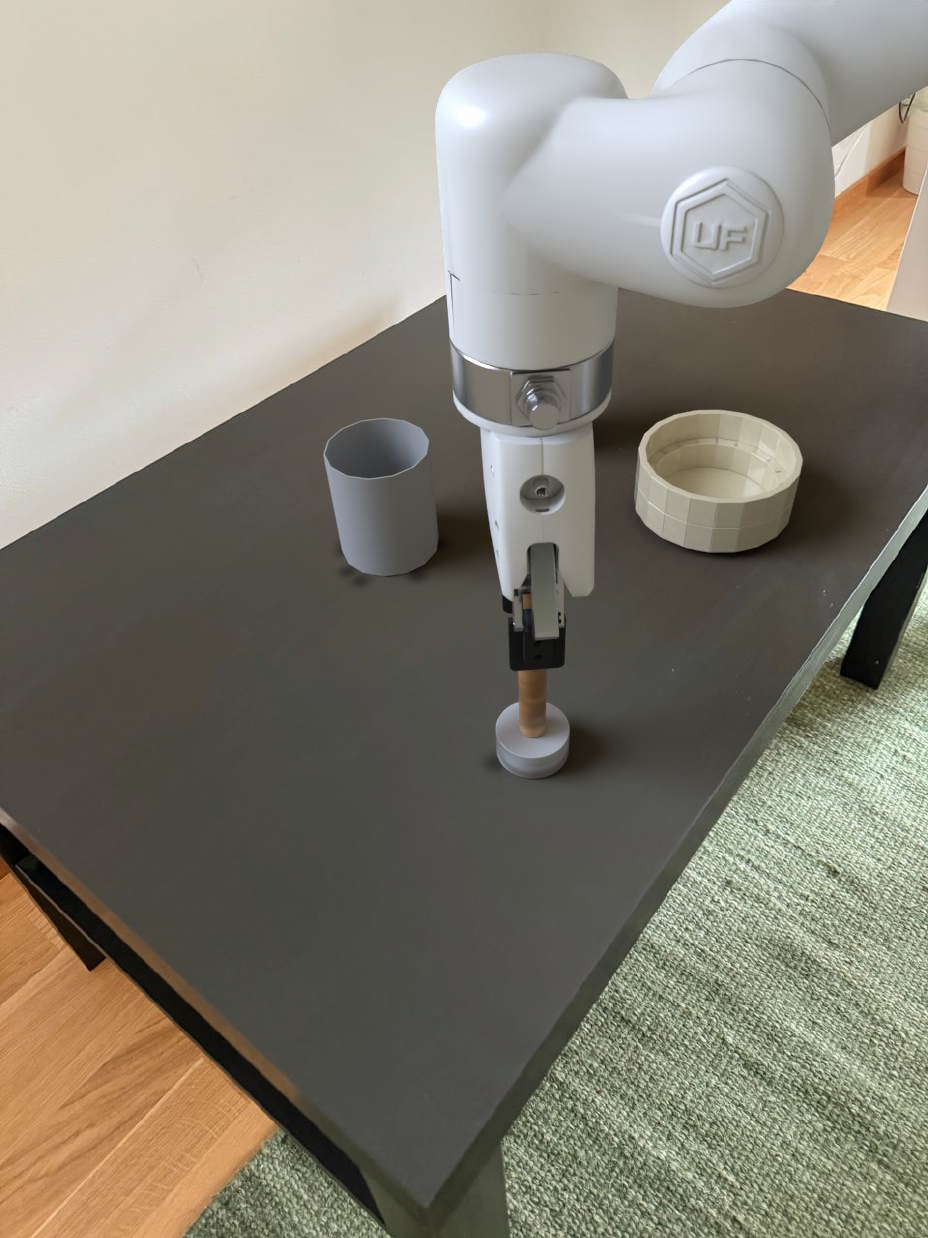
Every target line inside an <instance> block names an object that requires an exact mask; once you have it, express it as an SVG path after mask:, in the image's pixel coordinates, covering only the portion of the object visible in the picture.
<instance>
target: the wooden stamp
mask: <svg viewBox="0 0 928 1238" xmlns="http://www.w3.org/2000/svg"><path fill="white" fill-rule="evenodd" d="M527 574H530V573H527ZM531 608H532V605H531V594H523V609H531ZM547 676H548V669H538V670H525V671H517V683H518V684H517V685H518V687H517V688H518V689H517V690H518V701H517V702H514V703H512V704H510V705H508V706H507V707H506V708H504V710H503V711H502V712H501V713H500V715H499V716H498V717H497V720H496V723H495V746H496V748H495V749H496V756H497V758H498V761H499V762H500V764H501V765H502V767H503V768H504V769H505V770H506V771H508V772H509V773H511V774H512V775H514V776H517V777H519V778H523V779H528V780H536V779H537V780H538V779H544V778H547V777H550V776H552V775H554V774H555V773H557V772H558V771H559V770H561V769H562V768H563V766H564V765H565V764H566V762H567V760H568V757H569V754H570V733H571V726H570V723H569V720H568V718H567V716H566V714H565V713H564V712H563V711H562V710H561V709H560V708H559V707H557V706H556V705H554V704H552V703H550V702H547V680H548V677H547Z"/></svg>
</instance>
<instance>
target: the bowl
mask: <svg viewBox="0 0 928 1238" xmlns="http://www.w3.org/2000/svg"><path fill="white" fill-rule="evenodd" d="M803 464H804V458H803V456H802V453H801V450H800V446H799V444H798V443H797V442H795V440H794V439H793V438H792V437H791V436H790V435H789V434H788V433H787V431H785V430H784V429H782V428H780V427H779V426H777V425H775V424H773V422H772V423H771V422H770V421H768V420H766V419H763V418H760V417H757V416H755V415H751V414H748V413H745V412H738V411H733V410H725V409H697V410H696V409H695V410H689V411H686V412H685V411H684V412H681V413H676V414H673V415H671V416H669V417H667V418H664V419H662V420H659V421H657V422H656V423H655V424H654V425H652V427H650V428H649V429H648V430H647V431H646V432H645V433H644V434H643V436H642V439H641V441H640V443H639V446H638V448H637V459H636V468H635V469H636V471H635V480H634V481H635V482H634V492H633V499H634V508H635V512H636V513H637V515H638V516H639V518H640V520H641V521H642V523H643V524H644V526H646V527H647V528H648V529H650V530H651V531H652V532H653V533H654V534H656V535H657V536H659V537H660V538H661V539H663V540H665V541H667V542H670V543H673V544H675V545H677V546H680V547H682V548H685V549H690V550H694V551H698V552H705V553H738V552H742V551H747V550H751V549H755V548H758V547H761V546H762V545H765V544H766V543H768V542H770V541H772V540H774V539H776V538H777V537H778V536H779V535H780V533H781V532H782V531H783V530H784V529H785V528H786V527H787V526H788V524H789V521H790V517H791V513H792V509H793V505H794V502H795V497H796V493H797V490H798V484H799V482H800V481H799V480H800V477H801V473H802V468H803Z"/></svg>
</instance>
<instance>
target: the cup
mask: <svg viewBox="0 0 928 1238" xmlns="http://www.w3.org/2000/svg"><path fill="white" fill-rule="evenodd" d="M322 456H323V460H324V465H325V470H326V475H327V480H328V485H329V491H330V497H331V501H332V506H333V507H332V508H333V511H334V517H335V521H336V526H337V531H338V532H337V533H338V537H339V541H340V547H341V551H342V553H343V555H344V558H345V560H346V562H347V564H348V565H349V566H352V567H353V568H355V569H356V570H357V571H359V572H361V573H363V574H367V575H373V576H378V577H389V576H390V577H391V576H397V575H404V574H408V573H410V572H412V571H414V570H416V569H418V568H420V567H422V566H425V565H426V564H427V562H429V560H430V559H431V558H432V557H433V556H434V555H435V553H436V552H437V550H438V543H439V528H438V517H437V516H438V515H437V508H436V497H435V486H434V485H435V484H434V476H433V466H432V464H433V463H432V455H431V444H430V439H429V438H428V436H427V435H426V433H425V432H424V430H423V428H421V427H419V426H417V425H415V424H413V423H411V422H409V421H408V420H404V419H398V418H397V419H396V418H388V417H379V418H378V417H377V418H371V419H364V420H359V421H357V422H354V423H352V424H349V425H347V426H345V427H342V428H340V429H339V430H338V431H337V432H335V434H333V435H332V436H331V437H330V438H329V439H328V440H327V441H326V444H325V448H324V451H323V454H322Z"/></svg>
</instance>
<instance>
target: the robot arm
mask: <svg viewBox="0 0 928 1238" xmlns="http://www.w3.org/2000/svg"><path fill="white" fill-rule="evenodd" d="M926 87H928V0H730V1H729V2H728V3H726V4H725V5H724V6H723V7H722V8H720V9H718V11H717V12H715V13H714V14H713V15H712V16H711V17H710V18H709V19H708V20H706V21H705V22H704V23H703V24H702V25H701V26H700V27H699V28H697V29H696V30H695V31H694V32H693V33H691V35H690V36H689V37H688V38H687V39H686V40H685V41H684V42H683V43H682V44H681V45H680V46H679V47H678V48H677V49H676V51H675V52H674V53H673V54H672V56H671V57H670V59H669V60H668V61H667V63H666V64H665V65H664V67H663V68H662V70H661V71H660V73H659V75H658V77H657V79H656V81H655V83H654V85H653V87H652V89H651V91H650V93H649V96H647V97H643V98H629V96H628V94H627V92H626V90H625V86H624V84H623V83H622V81H621V79H620V78H619V77H618V76H617V74H616V73H615V72H614V71H613V70H611V69H610V68H609V67H608V66H606V65H605V64H603V63H601V62H599V61H596V60H594V59H590V58H587V57H583V56H578V55H575V54H568V53H562V52H561V53H560V52H524V53H523V52H522V53H513V54H507V55H501V56H496V57H491V58H488V59H484V60H482V61H479V62H476V63H474V64H472V65H469V66H467V67H464V68H462V69H461V70H459V71H458V72H457V73H455V74H454V75H453V76H452V77H451V78H450V79H449V80H448V81H447V82H446V84H445V85H444V86H443V88H442V90H441V92H440V94H439V97H438V100H437V103H436V108H435V115H434V138H435V139H434V142H435V143H434V144H435V157H436V168H437V169H436V170H437V183H438V185H437V186H438V197H439V212H440V213H439V214H440V225H441V228H440V229H441V240H442V254H443V269H444V281H445V292H446V304H447V305H446V306H447V318H448V333H449V334H448V336H449V337H448V339H449V351H450V352H449V353H450V364H451V365H450V366H451V378H452V379H451V380H452V381H451V382H452V397H453V403H454V405H455V407H456V409H457V411H458V412H459V413H460V415H462V417H463V418H464V419H466V420H467V421H468V422H470V423H471V424H473V425H475V426H477V427H479V428H480V429H479V430H480V431H479V432H480V444H481V447H480V448H481V459H482V471H483V473H482V474H483V483H484V493H485V501H486V510H487V515H488V522H489V530H490V536H491V540H492V546H493V552H494V558H495V564H496V568H497V573H498V579H499V584H500V589H501V605H502V610H503V611H502V612H504V613H506V614H509V615H510V614H511V615H512V616H510V617H507V632H508V634H507V635H508V637H507V638H508V661H509V662H508V663H509V669H510V670H511V671H513V672H518V671H525V670H538V669H547V670H551V669H559V668H562V667H564V666H565V664H566V663H565V661H566V633H567V632H566V631H567V616H566V613H565V587H566V589H567V591H568V592H569V594H570V595H571V597H572V598H579V597H583V598H585V597H588V596H589V595H590V594H591V593H592V592H593V590H594V588H595V548H596V547H595V540H596V539H595V537H596V535H595V533H596V467H595V465H596V464H595V462H596V461H595V444H594V442H595V441H594V430H593V421H595V419H597V418H598V417H599V416H600V415H602V413H603V412H604V411H605V410H606V409H607V408H608V406H609V403H610V401H611V398H612V385H613V371H614V357H615V355H614V354H615V341H616V330H617V329H616V325H617V312H618V300H619V299H618V298H619V297H618V296H619V295H618V294H619V289H623V290H626V291H631V292H635V293H638V294H642V295H646V296H649V297H653V298H656V299H660V300H665V301H668V302H672V303H677V304H681V305H686V306H692V307H698V308H709V309H710V308H711V309H712V308H713V309H728V308H729V309H730V308H737V307H744V306H745V307H746V306H749V305H753V304H755V303H760V302H762V301H764V300H767V299H769V298H771V297H773V296H775V295H777V294H779V293H781V292H782V291H783V290H785V289H786V288H788V287H789V286H791V285H793V283H794V282H796V281H797V280H798V278H800V277H801V276H802V275H803V274H804V273H805V272H806V270H807V269H808V268H809V267H810V266H811V265H812V263H813V262H814V260H815V259H816V257H817V255H818V254H819V253H820V250H821V249H822V247H823V245H824V242H825V241H826V238H827V235H828V233H829V229H830V226H831V223H832V220H833V212H834V208H835V201H836V180H835V179H836V178H835V164H834V158H833V157H834V156H833V155H834V154H833V147H835V146H837V145H838V144H839V143H841V142H842V141H843V140H845V139H846V138H848V137H850V136H851V135H852V134H854V133H855V132H857V131H858V130H860V129H862V127H864V126H866V125H867V124H869V123H870V122H872V121H873V120H875V119H877V118H878V117H880V116H881V115H883V114H884V113H886V112H888V111H889V110H891V109H892V108H894V107H895V106H897V105H898V104H900V103H901V102H904V100H906V99H908V98H910V97H911V96H913V95H915V94H916V93H918V92H920V91H921V90H923V89H925V88H926ZM527 573H530V574H527ZM523 594H531V605H532V608H531V609H523Z"/></svg>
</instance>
